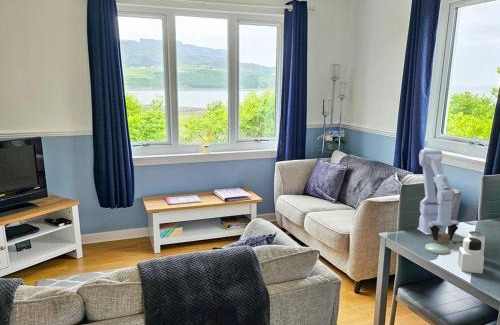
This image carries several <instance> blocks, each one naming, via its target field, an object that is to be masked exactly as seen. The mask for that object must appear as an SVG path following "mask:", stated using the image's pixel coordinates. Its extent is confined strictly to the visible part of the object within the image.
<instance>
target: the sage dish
mask: <svg viewBox="0 0 500 325" xmlns="http://www.w3.org/2000/svg"><path fill="white" fill-rule="evenodd" d="M424 250H426V251H427V252H428V253H432V254H437V255H447V254H448V253H449V251H450V248H449V247H448V246H447V245H445V244H439V243H437V242H436V243H435V242H431V243H430V242H429V243H426V244H425V247H424Z"/></svg>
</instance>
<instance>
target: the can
mask: <svg viewBox="0 0 500 325" xmlns="http://www.w3.org/2000/svg"><path fill="white" fill-rule="evenodd" d="M469 237H471V238H476V239H478V240H480V241H481V242H482V245H481V252H482V254H483V255H484V253H485V243H486V237H485V233H483V232H480V231H476V230H475V231H474V230H472V231H469V232H468V235H467V238H469ZM484 256H485V255H484Z"/></svg>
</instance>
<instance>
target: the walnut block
mask: <svg viewBox="0 0 500 325" xmlns="http://www.w3.org/2000/svg"><path fill="white" fill-rule="evenodd" d="M435 242H436V243H437V244H441V245H450V242H451V241H450V235H449V234H448V232H445V231H439V232H438V239H437V241H435Z"/></svg>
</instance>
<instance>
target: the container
mask: <svg viewBox="0 0 500 325" xmlns="http://www.w3.org/2000/svg"><path fill="white" fill-rule="evenodd" d="M481 245H482V242H481V241H480V240H478V239H476V238H471V237H469V238H468V237H465V239H463V242H462V246H459V249H458V260H457V264H458V266H459V268H460V271H462V272H464V273H465V272H466V273H474V274H483V273H484V263H485V262H484V261H485V255H483V254H482V252H481Z"/></svg>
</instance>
